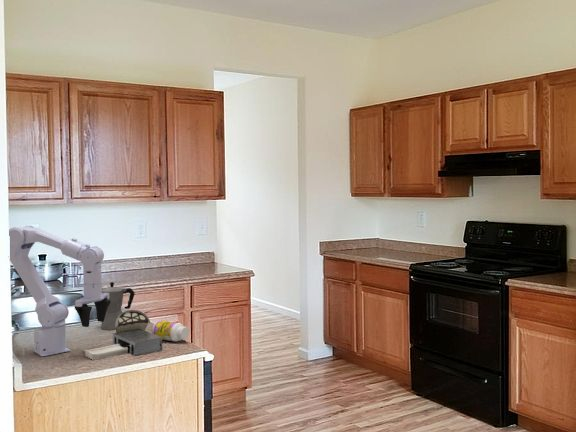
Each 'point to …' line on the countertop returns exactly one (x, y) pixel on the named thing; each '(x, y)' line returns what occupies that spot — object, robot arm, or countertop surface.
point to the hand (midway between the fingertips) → (93, 323)
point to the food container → (131, 321)
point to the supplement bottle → (170, 331)
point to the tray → (105, 351)
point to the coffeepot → (115, 305)
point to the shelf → (138, 341)
